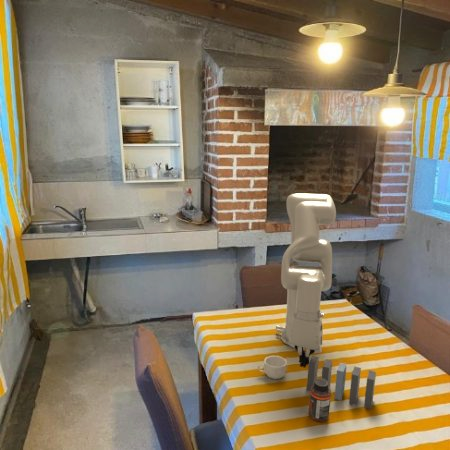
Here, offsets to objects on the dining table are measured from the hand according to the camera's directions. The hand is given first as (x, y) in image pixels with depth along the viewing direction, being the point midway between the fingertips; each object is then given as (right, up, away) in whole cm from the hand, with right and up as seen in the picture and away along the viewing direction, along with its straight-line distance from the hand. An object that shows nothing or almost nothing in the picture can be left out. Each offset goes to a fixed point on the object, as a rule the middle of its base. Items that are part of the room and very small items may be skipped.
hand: (303, 365), depth 134 cm
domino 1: (+3, -7, 0) cm, 8 cm away
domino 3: (+11, -8, -4) cm, 14 cm away
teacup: (-10, -6, +6) cm, 13 cm away
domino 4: (+15, -9, -6) cm, 18 cm away
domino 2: (+7, -8, -2) cm, 10 cm away
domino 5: (+19, -9, -8) cm, 22 cm away
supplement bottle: (+2, -10, -14) cm, 17 cm away
